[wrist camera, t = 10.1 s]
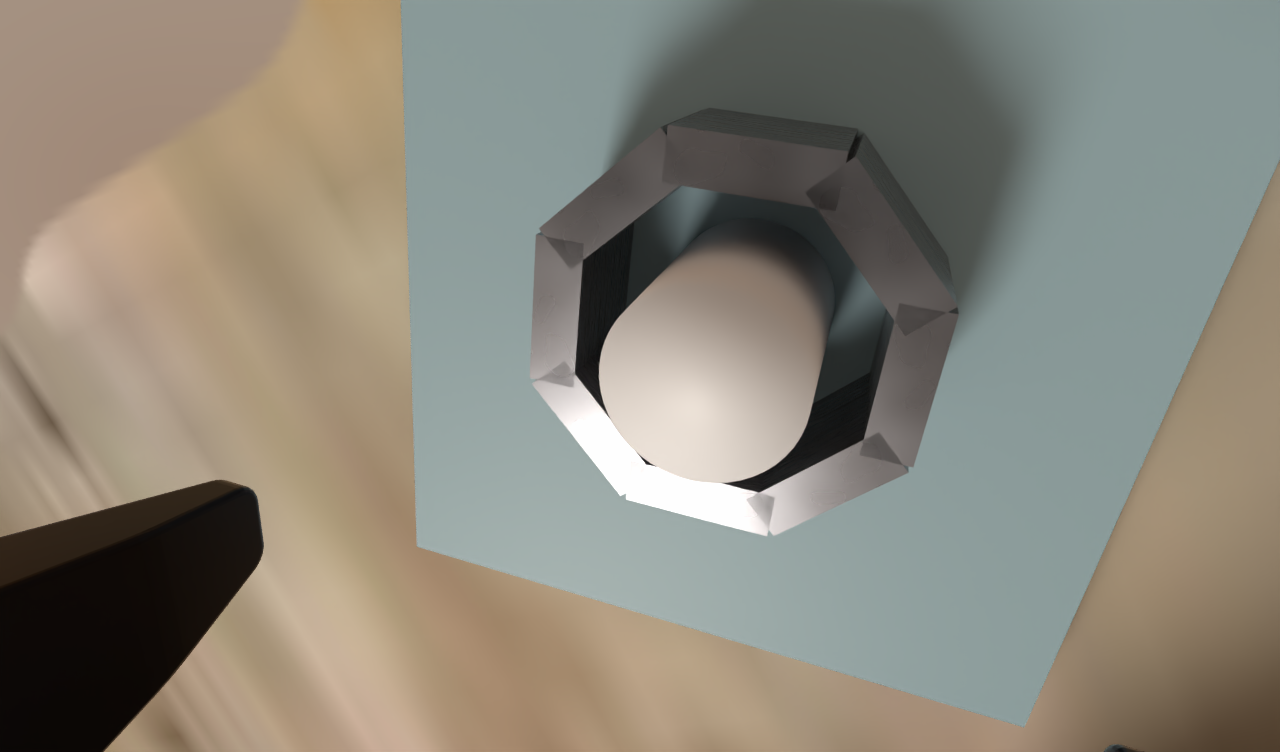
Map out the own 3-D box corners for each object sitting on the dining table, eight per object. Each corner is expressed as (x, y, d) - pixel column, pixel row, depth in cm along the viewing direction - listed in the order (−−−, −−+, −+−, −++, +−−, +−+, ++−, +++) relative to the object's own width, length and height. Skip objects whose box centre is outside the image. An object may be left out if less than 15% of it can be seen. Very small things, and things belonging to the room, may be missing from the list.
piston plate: (1015, 680, 20) (1057, 919, 14) (444, 517, 23) (310, 661, 18) (1387, -190, 12) (1779, -363, 6) (436, -233, 15) (194, -369, 10)
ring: (886, 483, 17) (883, 567, 14) (578, 409, 18) (525, 472, 16) (982, 145, 14) (1000, 173, 11) (602, 92, 15) (541, 105, 13)
